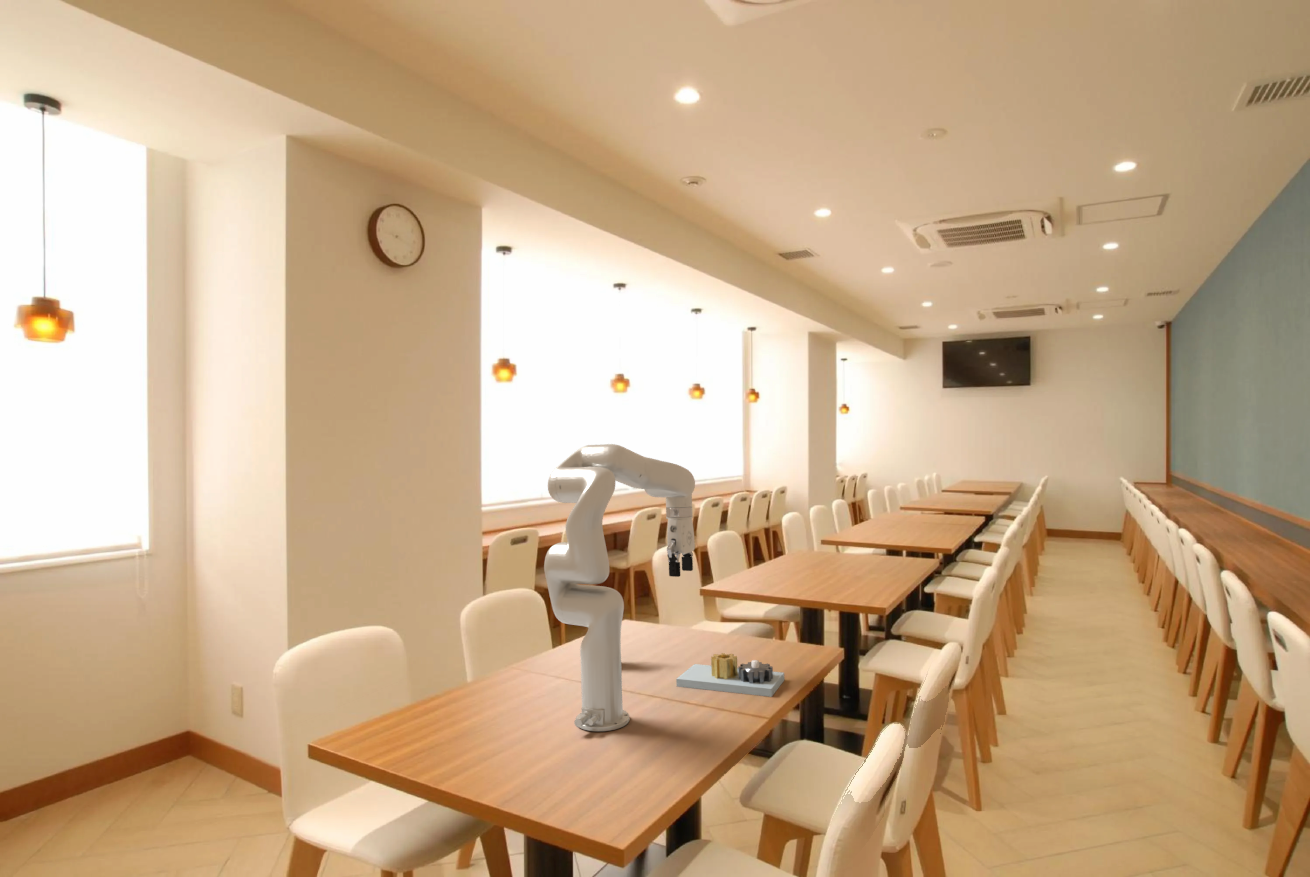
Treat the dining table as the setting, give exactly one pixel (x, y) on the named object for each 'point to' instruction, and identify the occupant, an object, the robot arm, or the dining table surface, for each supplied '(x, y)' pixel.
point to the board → (728, 681)
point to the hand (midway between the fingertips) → (681, 573)
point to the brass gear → (724, 666)
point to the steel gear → (755, 673)
